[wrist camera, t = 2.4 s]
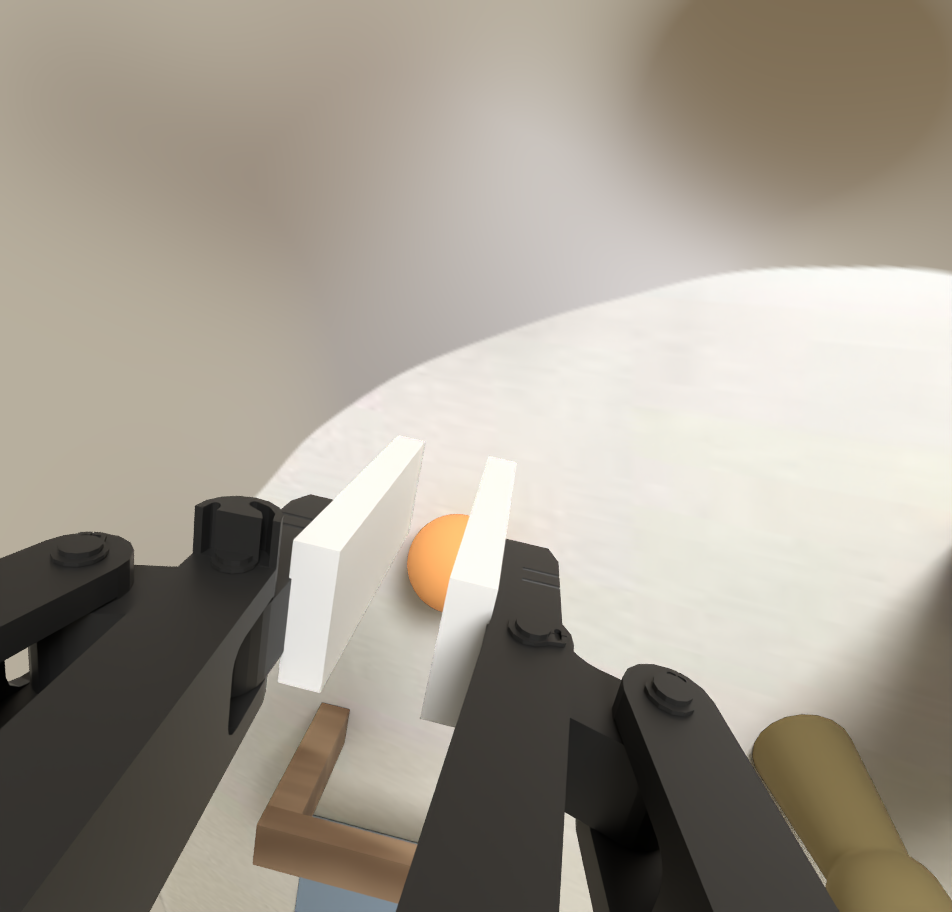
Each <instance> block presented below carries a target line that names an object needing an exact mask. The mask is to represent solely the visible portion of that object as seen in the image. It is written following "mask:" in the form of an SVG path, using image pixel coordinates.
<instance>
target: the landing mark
mask: <svg viewBox="0 0 952 912" xmlns="http://www.w3.org/2000/svg"><path fill="white" fill-rule="evenodd" d="M312 817H315V818H319V819H323V820H327V821H330V822H334V823H338V824H342V825H345V826H349V827H353V828H357V829H360V830H364V831H368V832H372V833H375V834H379V835H383V836H387V837H390V838H394V839H398V840H402V841H405V842H409V843H413V844H418V843H415V842H412V841H408V840H404V839H400V838H396V837H393V836H389V835H385V834H381V833H378V832H374V831H370V830H366V829H363V828H359V827H355V826H351V825H348V824H344V823H340V822H336V821H333V820H329V819H325V818H321V817H318V816H314V815H313V816H312ZM397 906H398V904H397V903H393V902H389V901H386V900H382V899H378V898H375V897H371V896H367V895H364V894H360V893H356V892H353V891H349V890H345V889H342V888H338V887H334V886H331V885H327V884H323V883H320V882H316V881H312V880H309V879H305V878H301V877H300V879H299V886H298V893H297V900H296V907H295V912H396V909H397Z"/></svg>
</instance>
